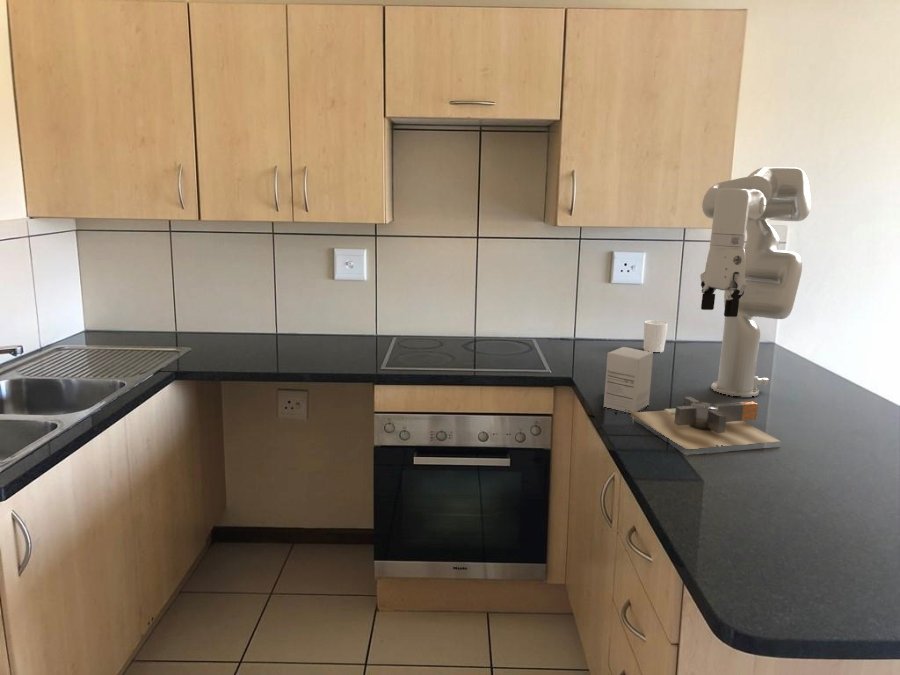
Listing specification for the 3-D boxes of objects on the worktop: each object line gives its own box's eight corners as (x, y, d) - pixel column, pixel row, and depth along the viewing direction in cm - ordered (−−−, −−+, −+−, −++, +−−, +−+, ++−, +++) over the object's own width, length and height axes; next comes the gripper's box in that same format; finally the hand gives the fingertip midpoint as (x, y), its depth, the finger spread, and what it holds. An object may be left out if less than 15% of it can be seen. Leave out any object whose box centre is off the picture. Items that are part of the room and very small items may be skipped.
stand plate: (714, 412, 178) (715, 406, 178) (779, 447, 155) (781, 440, 155) (630, 418, 172) (631, 411, 172) (685, 455, 149) (686, 448, 149)
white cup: (637, 348, 243) (639, 321, 241) (654, 347, 246) (657, 319, 244) (652, 354, 236) (654, 325, 234) (670, 352, 239) (673, 324, 237)
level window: (686, 409, 175) (686, 407, 175) (692, 413, 172) (692, 410, 172) (664, 411, 173) (664, 408, 173) (670, 414, 171) (670, 412, 171)
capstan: (734, 411, 173) (736, 393, 172) (773, 431, 160) (775, 412, 159) (660, 417, 168) (661, 398, 167) (693, 438, 155) (695, 418, 154)
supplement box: (617, 399, 187) (622, 345, 183) (649, 407, 181) (654, 351, 178) (602, 407, 180) (606, 352, 176) (634, 415, 174) (639, 358, 171)
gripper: (764, 245, 156) (754, 319, 160) (720, 239, 173) (712, 307, 176) (735, 244, 155) (725, 319, 158) (693, 238, 171) (685, 307, 175)
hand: (718, 313), depth 167 cm, fingers open, 9 cm apart
